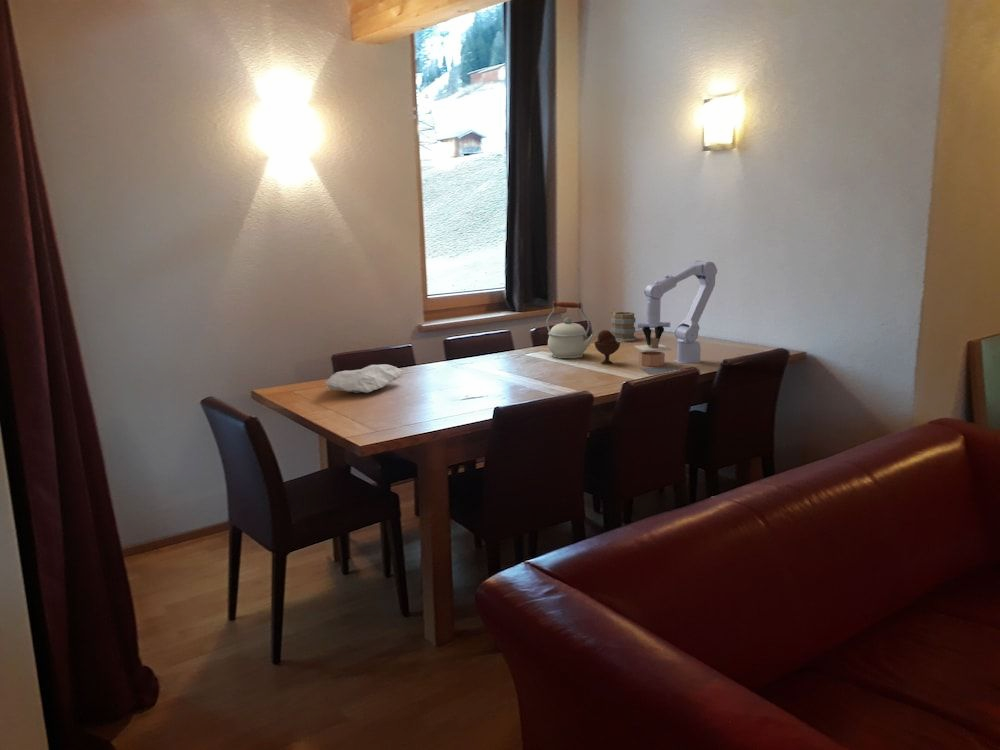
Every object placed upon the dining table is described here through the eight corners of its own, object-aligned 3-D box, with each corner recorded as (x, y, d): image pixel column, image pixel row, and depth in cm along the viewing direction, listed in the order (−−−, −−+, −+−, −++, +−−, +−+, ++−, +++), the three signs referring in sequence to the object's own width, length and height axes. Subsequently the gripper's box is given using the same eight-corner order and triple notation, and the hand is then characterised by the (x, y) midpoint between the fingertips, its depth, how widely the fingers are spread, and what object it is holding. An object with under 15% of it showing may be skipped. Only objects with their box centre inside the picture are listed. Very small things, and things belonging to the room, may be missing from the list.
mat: (676, 367, 317) (676, 366, 317) (687, 373, 306) (687, 372, 306) (639, 369, 315) (639, 368, 315) (649, 375, 304) (649, 374, 303)
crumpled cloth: (304, 390, 285) (305, 367, 282) (378, 373, 310) (378, 352, 307) (342, 409, 270) (343, 385, 267) (416, 390, 295) (417, 368, 292)
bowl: (658, 361, 330) (658, 350, 328) (666, 366, 320) (667, 354, 319) (636, 362, 328) (636, 351, 327) (644, 367, 318) (644, 355, 317)
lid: (661, 345, 328) (661, 335, 327) (671, 350, 317) (671, 339, 316) (634, 347, 326) (634, 336, 325) (644, 351, 315) (644, 340, 314)
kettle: (537, 357, 345) (536, 302, 340) (556, 350, 360) (556, 298, 355) (585, 362, 332) (586, 305, 326) (604, 355, 347) (604, 301, 341)
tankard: (639, 341, 380) (640, 311, 377) (616, 343, 377) (617, 313, 374) (622, 335, 399) (623, 307, 396) (600, 337, 396) (600, 308, 393)
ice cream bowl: (619, 366, 321) (619, 331, 318) (593, 366, 323) (593, 331, 320) (620, 361, 331) (621, 328, 328) (595, 361, 333) (595, 327, 330)
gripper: (640, 314, 314) (639, 346, 316) (673, 313, 316) (672, 345, 319) (634, 312, 320) (633, 344, 323) (667, 311, 323) (666, 342, 325)
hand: (652, 344), depth 321 cm, fingers closed on lid, 3 cm apart
